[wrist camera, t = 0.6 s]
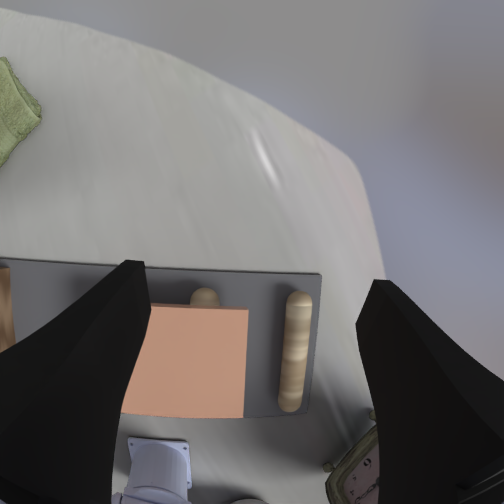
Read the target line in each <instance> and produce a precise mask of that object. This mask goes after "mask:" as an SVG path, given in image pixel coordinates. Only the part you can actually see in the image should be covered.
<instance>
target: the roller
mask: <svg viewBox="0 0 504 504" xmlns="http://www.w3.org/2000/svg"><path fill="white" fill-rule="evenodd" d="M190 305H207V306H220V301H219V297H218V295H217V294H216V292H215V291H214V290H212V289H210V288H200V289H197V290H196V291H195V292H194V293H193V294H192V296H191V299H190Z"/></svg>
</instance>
